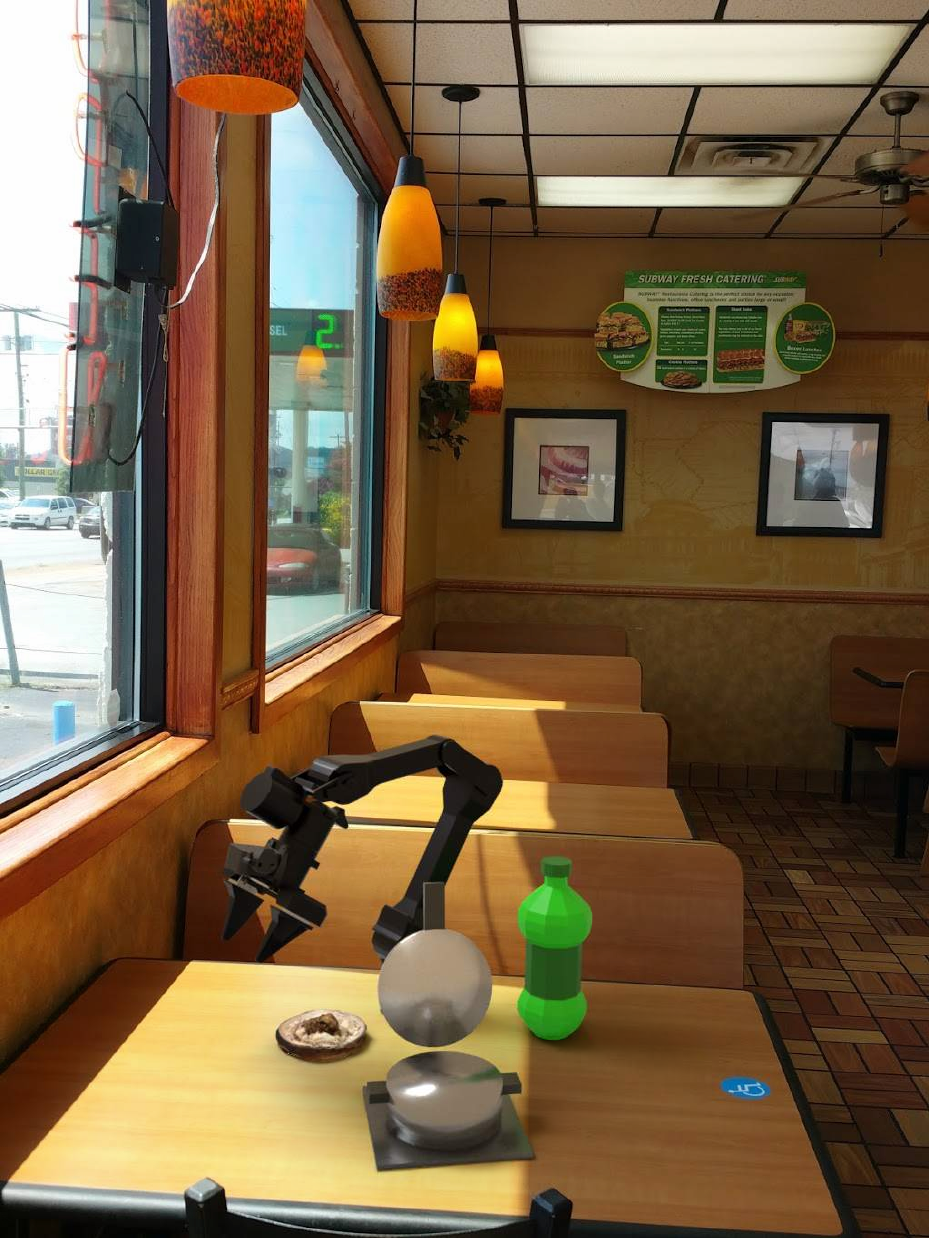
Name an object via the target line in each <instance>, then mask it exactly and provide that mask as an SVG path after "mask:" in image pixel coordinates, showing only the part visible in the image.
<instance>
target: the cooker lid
mask: <svg viewBox="0 0 929 1238" xmlns="http://www.w3.org/2000/svg"><path fill="white" fill-rule="evenodd" d="M445 889H446V885H445V883H444V882H424V883H423V930H421V931H418V932H415V933H413V934H411V935H409V936H407V937H406V938H404V939H403V940H401V941H400V942H399V943H398V944H397V945H396V946H395V947H394V948H393V949H392V950H391V952H390V953H389V954H388V956H387V957H386V959H385V961H384V963H383V965H382V964H381V965H382V966H381V968H380V970H379V971H380V972H379V974H378V980H377V1000H378V1004H379V1008H380V1009H381V1010H382V1012H381V1013H382V1016H383V1017H384V1019H385V1021H386V1023H387V1024H388V1026H389V1027H390V1028H391V1029H392V1031H393V1032H394V1033H395V1034H397V1036H399V1037H400V1038H401V1039H403V1040H404V1041H407V1042H408V1043H411V1044H413V1045H414V1046H415V1045H416V1046H419V1047H424V1048H441V1047H443V1048H444V1047H446V1046H450V1045H453V1044H456V1043H457V1042H460V1041H461V1040H464V1039H465V1038H467V1036H469V1035H471V1034H472V1033H473V1032H474V1031H475V1030H476V1028H478V1026H479V1025H480V1024H481V1022H482V1021H483V1019H484V1017H485V1016H486V1013H487V1011H488V1010H489V1008H490V1007H489V1006H490V1003H491V999H492V995H493V978H492V972H491V968H490V966H489V963H488V960H487V959H486V957H485V955H484V954H483V952H482V950H480V948H479V947H478V946H477V945H476V943H474V942H473V941H472V940H471V939H470V938H468V937H466V936H465V935H464V934H461V933H460V932H457V931H455V930H452V929H448V928H446V899H445V898H446V891H445Z"/></svg>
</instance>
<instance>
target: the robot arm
mask: <svg viewBox="0 0 929 1238" xmlns="http://www.w3.org/2000/svg"><path fill="white" fill-rule="evenodd" d="M432 769H435V770H436V771H437V773H439V774H440V775H441V777H443V778H444V782H443V787H442V791H441V792H442V812H441V813H440V815H439V819H437V823H436V825H435V827H434V829H433V831H432V834H431V836H430V838H429V840H428V843H427V845H426V847H425V849H424V851H423V854H422V855H421V857H420V860H419V862H418V863H417V866H416V869H415V871H414V873H413V875H412V878H411V880H410V882H409V884H408V886H407V888H406V890H405V893H404V895H403V896H402V898H401V900H399V901H398V902H397V903H396V904H394V905H393V906H390V905H389V904H384V905H383V907H382V908H381V909H380V914H379V917H378V919H377V921H376V922H375V924H374V925H373V927H372V928H371V930H372V931H373V934H372V937H371V944H372V947H373V951H374V952H375V955H376V956H378V957H379V960H380V963H381V965H383V963H384V961H385V959H386V957H387V956H388V954H389V953H390V952H391V950H392V949H393V948H394V947H395V946H396V945H397V944H398V943H399V942H400V941H401V940H403V939H404V938H406V937H407V936H409V935H411V934H413V933H415V932H418V931H421V930H423V883H424V882H444V883H445V886H447V883H448V881H449V878H450V877H451V874H452V871H453V870H454V867H455V865H456V863H457V861H458V858H459V856H460V854H461V852H462V849H463V846H464V845H465V843H466V841H467V838H468V835H469V834H470V833H471V832H470V831H471V830H472V827H473V825H474V824H475V822H477V821H478V820H479V819H480V818H481V817H483V816H484V815H486V814H487V813H488V812H489V811H490V810H491V808H492V807H493V805H494V804H495V802H496V801H497V799H498V797H499V796H500V794H501V792H502V789H503V786H504V779H503V777H502V772H501V771H500V768H498V767H497V766H496V765H494V764H490V763H487V762H484V761H483V760H481V759H480V758H478V757H477V756H476V755H474V754H472V753H471V752H469V751H468V750H467V749H465V748H464V747H463V746H462V745H461V744H459V743H458V742H457V741H456V740H455V739H453V738H449V737H446V736H443V735H439V734H431V735H429V736H427V737H426V738H422V739H419V740H415V741H412V742H408V743H404V744H401V745H397V746H394V747H390V748H386V749H382V750H379V751H375V752H371V753H368V754H360V755H359V754H331V755H329V754H328V755H322V756H319V757H318V758H315V759H314V760H312V763H311V766H309V767H308V768H306V769H304V770H302V771H299V773H297V774H295V775H293V776H290V777H289V776H287V775H286V774H285V773H284V772H283V771H282V770H280V769H279V768H277V767H276V766H273V765H269V764H268V765H267V766H266V768H265V769H264V771H263V772H261V773H258V774H257V775H255V776H254V777H253V778H252V779H251V780H250V781H249V782H246V785H245V786H244V788H243V790H242V793H241V796H240V808H241V809H242V810H243V811H244V812H246V813H247V814H249V815H251V816H252V817H254V818H256V819H258V820H259V821H261V822H263V823H265V824H266V825H268V826H270V827H271V828H273V829H275V830H281V829H283V830H281V833H280V835H279V837H278V838H274V837H273V836H272V837H271V838H270V839H268V840H267V841H266V843H265V845H264V846H261V845H255V844H246V843H236V842H231V843H229V847H228V850H227V856H226V860H225V863H224V867H223V868H222V870H221V872H220V874H221V875H223V876H225V877H227V878H229V879H227V878H223V883H224V884H225V885H226V889H227V891H228V896H229V898H228V904H227V908H226V909H227V910H226V914H225V919H224V924H223V926H222V927H223V928H222V933H221V940H223V941H225V942H229V941H230V940H231V939H233V938H234V936H235V935H236V934H237V933H239V931H240V929H242V927H243V926H245V924H246V923H247V922H248V921H249V919H251V917H252V916H253V915H254V913H255V912H256V911H257V910H258V909H259V908H260V907H261V905H262V904H263V903H264V902H265V899H263V898H261V896H264V895H267V896H269V897H271V898H273V899H275V904H276V905H278V906H280V907H281V909H280V908H278V907H277V906H275V905H272V904H270V915H271V921H270V923H269V925H268V928H267V930H266V932H265V934H264V937H263V939H262V941H261V943H260V946H259V947H258V950H257V952H256V955H255V958H254V960H255V961H256V962H257V963H259V964H262V963H264V962H265V961H267V960H268V959H269V958H271V957H272V956H273V955H275V954H276V953H277V952H279V951H280V950H282V949H283V948H284V947H286V946H287V945H288V944H290V943H291V942H292V941H294V940H295V939H297V938H298V937H299V936H301V935H303V934H304V933H305V932H307V931H313V929H314V926H317V927H319V928H322V925H323V923H324V922H325V920H326V918H327V916H328V909H327V905H326V904H324V903H323V902H321V901H319V900H318V899H315V898H313V897H311V896H310V895H308V894H306V890H304V889H302V888H301V887H302V884H303V883H304V881H305V880H306V878H307V876H308V873H309V871H310V870H311V868H312V869H314V870H316V871H317V870H318V869H319V868H320V865H321V862H319V861H318V860H316V858H317V857H318V855H319V853H320V851H322V850H321V849H322V848H323V846H324V844H325V843H326V840H327V838H328V837H329V835H330V833H331V831H333V830H332V829H333V828H334V826H336V827H339V828H342V829H343V830H347V829H349V822H348V819H347V817H346V809H345V808H343V807H340V806H346V805H350V804H352V803H354V802H357V801H358V800H360V799H362V798H364V797H366V796H368V795H369V794H370V793H371V792H372V791H373V790H374V789H375V788H376V787H377V786H379V785H382V784H385V783H387V782H391V781H395V780H398V779H403V778H405V777H408V776H411V775H416V774H418V773H422V772H425V771H430V770H432ZM308 797H309V798H311V799H314V800H312V801H307V798H308ZM329 802H332V803H335V804H337V805H340V806H337V805H336V806H335V805H334V806H332V807H331V806H329V805H327V804H325V803H329ZM256 894H259V895H261V896H260V897H259V896H258V895H256ZM311 924H313V925H314V926H311ZM380 1013H382V1010H381V1008H380Z"/></svg>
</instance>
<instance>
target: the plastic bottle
mask: <svg viewBox="0 0 929 1238" xmlns="http://www.w3.org/2000/svg"><path fill="white" fill-rule="evenodd" d="M540 862H541V863H540V864H541V865H540V872H541V874H542V876H544V883H543V884H541V885H540V886H539V887H537V888H535V890H534V891H532V892H531V893H529V895H528V896H527V897H526V898H525V899H524V900H522V902H520V903H521V904H519V905H520V906H519V908H518V910H517V925H518V931H519V932H520V933H521V934H522V935H523V936H524V938H525V963H524V964H525V965H524V968H525V969H524V987H523V988H522V990H521V992H520V994H519V996H518V998H517V1008H516V1009H517V1012H518V1014H519V1017H520V1018H521V1020H522V1021H523V1023H524V1024H525V1026H527V1028H528V1029H529V1030H530V1031H531V1032H532V1033H534V1035H535V1036H536V1037H538V1038H540V1039H542V1040H546V1041H547V1040H548V1041H560V1040H562V1039H565V1038H568V1037H569V1036H570V1035H571V1034H572V1033H574V1032H575V1031H576V1030H577V1029H578V1028H579V1027H580V1025H581V1023H582V1022H583V1020H584V1019H585V1016H586V1014H587V1011H588V1010H587V1008H588V1003H587V1000H586V998H585V994H584V993H583V990H582V989H581V987H582V964H583V963H582V962H583V943H584V941H585V940H586V939H587V937H588V936H589V935H590V933H591V930H592V925H593V912H592V909H591V907H590V905H589V904H588V902H586V901H585V899H584V898H583V897H582V896H581V895H580V894H579V893H577V891H575V890H574V889H573V888H572V887H571V886H569V885H568V877H570V876H571V875H572V874H573V873H572V870H573V868H572V867H573V861H572V860H571V859H570V858H568V857H563V856H547V857H546V856H545V857H543V858H542V859H541V861H540Z"/></svg>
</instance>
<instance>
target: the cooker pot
mask: <svg viewBox="0 0 929 1238" xmlns="http://www.w3.org/2000/svg"><path fill="white" fill-rule="evenodd" d="M522 1085H523V1084H522V1081H521V1079H520V1077H519V1075H518V1073H517V1071H516V1072H515V1071H513V1072H501V1071H500V1069H499V1068H498V1067H497V1066H496V1065H494V1064H493V1063H491V1062H490V1061H488V1060H486V1059H485V1058H482V1057H480V1056H477V1055H474V1054H470V1053H466V1052H460V1051H452V1050H451V1051H450V1050H433V1051H426V1052H421V1053H416V1054H413V1055H412V1054H411V1055H410V1056H407V1057H404V1058H402V1059H401V1060H398V1061H397V1062H395V1063H394V1064H393V1065H392V1066H391V1067H390V1068H389V1069H388V1072H387V1073H386V1078H385V1080H375V1081H373V1080H371V1081H366V1085H362V1094H363V1101H364V1105H365V1112H366V1118H367V1123H368V1129H369V1135H370V1140H371V1145H372V1153H373V1157H374V1162H375V1163H374V1164H375V1168H376V1169H375V1170H376V1171H388V1170H401V1169H414V1168H424V1167H423V1166H427V1167H436V1166H437V1167H439V1166H440V1167H441V1166H450V1165H464V1164H477V1163H488V1162H489V1163H490V1162H503V1161H514V1160H515V1161H516V1160H529V1159H530V1160H531V1159H534V1151H533V1148H532V1146H531V1144H530V1142H529V1139H528V1136H527V1135H526V1132H525V1129H524V1127H523V1125H522V1123H521V1120H520V1118H519V1116H518V1113H517V1110H516V1108H515V1107H514V1103H513V1102H512V1099H511V1096H510V1095H521V1094H522V1091H523V1090H522V1089H523V1088H522ZM427 1167H426V1168H427Z"/></svg>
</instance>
